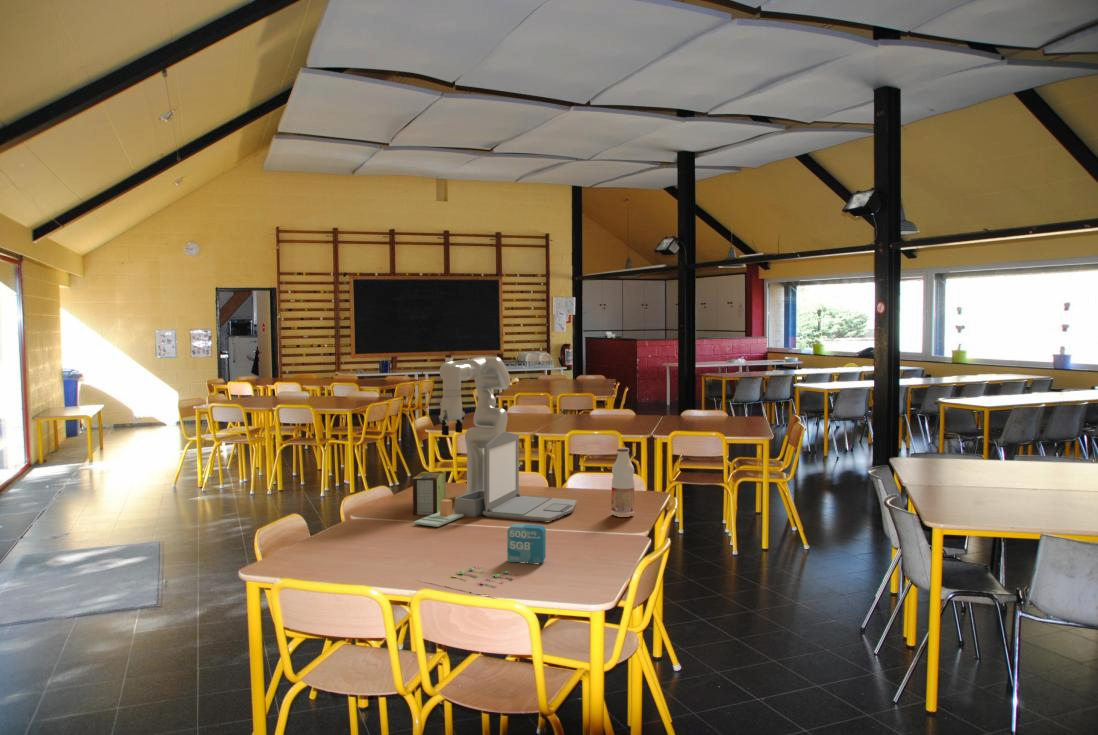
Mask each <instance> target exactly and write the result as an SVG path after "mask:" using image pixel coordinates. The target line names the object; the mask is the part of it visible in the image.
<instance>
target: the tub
mask: <svg viewBox="0 0 1098 735" xmlns="http://www.w3.org/2000/svg"><path fill="white" fill-rule="evenodd" d="M483 511H485V502H484V491H481V490H478V491H475V492H472V493H469V494H466V495H464V494H463V495H460V496H459V495H458V496H456V497H454V513H458V514H464V516H463V517H468V518H473V519H474V518H478V517H480V516H484V515H483Z"/></svg>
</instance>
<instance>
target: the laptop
mask: <svg viewBox="0 0 1098 735" xmlns="http://www.w3.org/2000/svg"><path fill="white" fill-rule="evenodd" d="M483 449H484V502H485V511H483V515H482V516H486V517H487V518H493V519H494V518H495V519H505V520H517V521H526V520H530V521H529V522H537V521H551V522H553V521H552V520H554V519H557V518H559V517H562V516H564V515H567V514H569V513H570V514H571V513H572V512H573V511H574V509H575V507H576V505H577V503H578V500H577V499H568V498H556V497H555V498H554V497H547V496H535V495H533V496H532V495H521V494H520V490H519V489H520V487H519V486H520V484H519V483H520V479H519V478H520V475H519V474H520V435H519V434H516V433H512V432H508V431H505V432H501V433H500V434H499V435H498V436H496V437H495V438H494V439H493V440H492V441H491V442H489V443H488V444H487V445H486V446H485V448H483ZM570 514H569V515H570ZM567 516H568V515H567ZM564 517H565V516H564ZM562 518H563V517H562ZM559 519H560V518H559ZM557 520H558V519H557ZM554 521H555V520H554Z"/></svg>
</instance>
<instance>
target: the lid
mask: <svg viewBox="0 0 1098 735" xmlns="http://www.w3.org/2000/svg"><path fill="white" fill-rule="evenodd" d="M462 517H465V516H464V514H458V513H455V512H453V499H444V500H441V501H440V512H438V513H435V514H433V515H426V516H424V517H421V518H420V519H417V520H415V521H413V524H415V525H422V526H429V527H434V528H435V527H441V526H443V525H446V524H448V523H451V522H453V521H455V520H458V519H460V518H462Z"/></svg>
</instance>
